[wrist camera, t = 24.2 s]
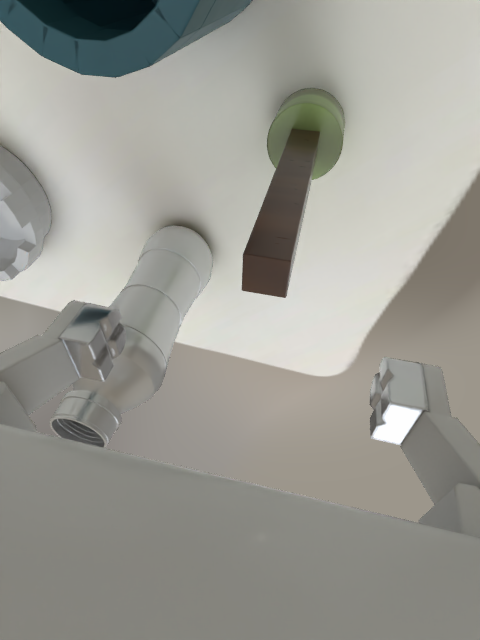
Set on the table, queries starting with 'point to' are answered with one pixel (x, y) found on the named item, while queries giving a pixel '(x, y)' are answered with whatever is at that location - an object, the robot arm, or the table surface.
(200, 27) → the jar
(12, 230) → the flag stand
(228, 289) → the table surface
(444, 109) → the table surface
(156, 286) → the plastic bottle
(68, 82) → the table surface
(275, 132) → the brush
